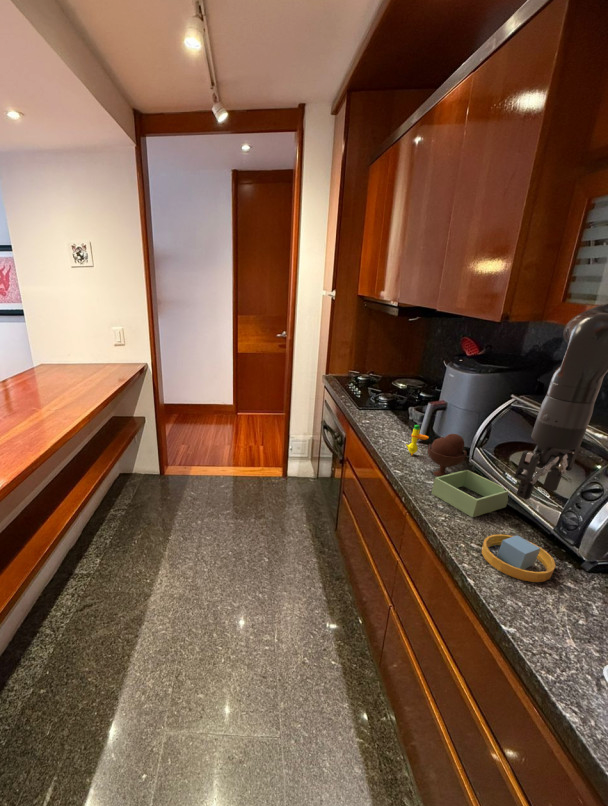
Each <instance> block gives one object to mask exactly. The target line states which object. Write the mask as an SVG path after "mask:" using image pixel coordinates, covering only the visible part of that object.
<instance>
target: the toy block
mask: <svg viewBox="0 0 608 806" xmlns="http://www.w3.org/2000/svg"><path fill="white" fill-rule="evenodd" d="M512 536H513V537H510V538H508V539H505V540H502V543H501V545H499V549H498V552H497V555H496V557H497V558H498V559H500V560H502V561H503V562H505V563H507V564H509V565H511V566H513V567H516V568H519V569H523V570H526V569H527V568H530V567H532V566H535V564H536V562H537V560H538V559H537V556H538V554H539V551H540V548H539V547H540V546H539V547H537V546H538V545H537V544H535V543H534V544H535V545H534V544H532V543H533V542H532V543H530V542H531V541H529V540H527V539H525V538H524V537H522V536H520V535H517V534H515V535H512ZM536 545H537V546H536Z"/></svg>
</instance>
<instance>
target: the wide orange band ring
mask: <svg viewBox="0 0 608 806" xmlns="http://www.w3.org/2000/svg"><path fill="white" fill-rule="evenodd" d="M513 536H514V535H509V534H503V533H502V534H501V533H500V534H498V533H497V534H492V535H488V536H486V537H485V538H484V540H483V543H482V546H481V554H482V556H483V558H484V559H485V561H486V562H487V563H488V564H489V565H491V566H492V567H493V568H495V569H496V570H497V571H498V572H501V573H503V574H505V575H507V576H509V577H511V578H514V579H517V580H521V581H525V582H532V583H542V582H546V581H548V580H550V579H551V577H552V576H553V574H554V572H555V569H556V565H557V564H556V561H555V559H554V558H553V557H552V556H551V554H550V553H549V552H547V550H545V549H544V548H542V547H541V546H539V545H537V544H535V543H534V542H531V541H529V542H530V543H532V544H534V545H536V546H537V547H539V548H540V551H539V554H538V556H537V559H536V560H538V561H539V562H540V563H541V564H542V565H543V567H544V569H545V571H533V570H526V569H519V568H516V567H513V566H511V565H510V564H508V563H506V562H505V561H503V560H502V559H500V558H499V557H497V556H496V555H494V553H492V552H491V550H490V548H491V547H494V546H501V543H502V540H505V539H508V538H510V537H513Z"/></svg>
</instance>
